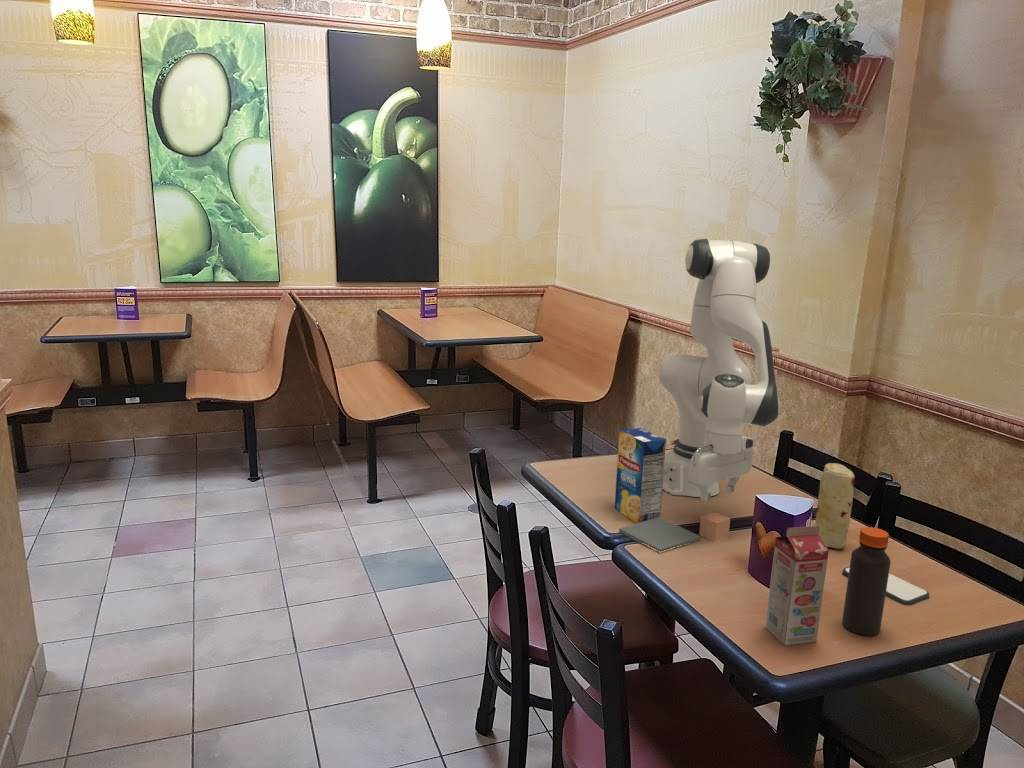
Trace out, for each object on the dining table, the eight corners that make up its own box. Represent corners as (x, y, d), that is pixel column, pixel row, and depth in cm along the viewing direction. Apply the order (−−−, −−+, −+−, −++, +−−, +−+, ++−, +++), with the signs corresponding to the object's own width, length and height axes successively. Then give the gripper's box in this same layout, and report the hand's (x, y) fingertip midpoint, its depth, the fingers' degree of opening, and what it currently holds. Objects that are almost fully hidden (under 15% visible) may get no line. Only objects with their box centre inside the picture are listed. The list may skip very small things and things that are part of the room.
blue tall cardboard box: (638, 524, 192) (644, 442, 187) (614, 508, 201) (619, 430, 196) (659, 520, 195) (666, 439, 190) (635, 505, 204) (640, 427, 199)
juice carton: (765, 626, 145) (777, 521, 140) (795, 623, 147) (809, 518, 142) (784, 645, 139) (798, 535, 134) (816, 641, 140) (831, 533, 135)
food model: (853, 550, 180) (864, 472, 175) (829, 553, 178) (840, 473, 174) (827, 534, 189) (837, 458, 184) (804, 536, 187) (813, 460, 183)
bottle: (887, 636, 143) (902, 539, 138) (853, 637, 142) (867, 539, 138) (867, 617, 149) (881, 524, 145) (835, 618, 149) (848, 524, 144)
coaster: (618, 532, 186) (619, 528, 186) (658, 520, 194) (658, 516, 194) (659, 553, 175) (660, 549, 175) (700, 540, 183) (700, 536, 183)
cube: (699, 534, 186) (700, 516, 185) (712, 530, 189) (714, 512, 188) (714, 542, 182) (716, 523, 181) (728, 537, 185) (730, 518, 184)
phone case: (931, 599, 159) (864, 567, 172) (932, 592, 158) (865, 560, 172) (906, 609, 154) (839, 575, 168) (907, 602, 154) (840, 569, 167)
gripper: (705, 452, 172) (700, 508, 175) (759, 439, 184) (753, 492, 187) (684, 445, 177) (679, 500, 180) (738, 433, 189) (733, 484, 192)
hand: (717, 496), depth 183 cm, fingers open, 8 cm apart
